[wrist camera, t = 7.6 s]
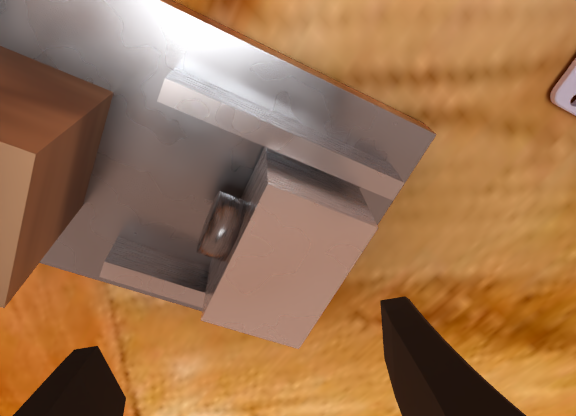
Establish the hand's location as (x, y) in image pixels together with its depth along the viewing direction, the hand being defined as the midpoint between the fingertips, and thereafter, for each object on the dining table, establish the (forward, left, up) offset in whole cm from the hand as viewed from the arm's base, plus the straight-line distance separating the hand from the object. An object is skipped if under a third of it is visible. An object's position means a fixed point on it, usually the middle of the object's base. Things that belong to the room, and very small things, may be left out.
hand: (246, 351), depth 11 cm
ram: (-1, 0, -7) cm, 8 cm away
